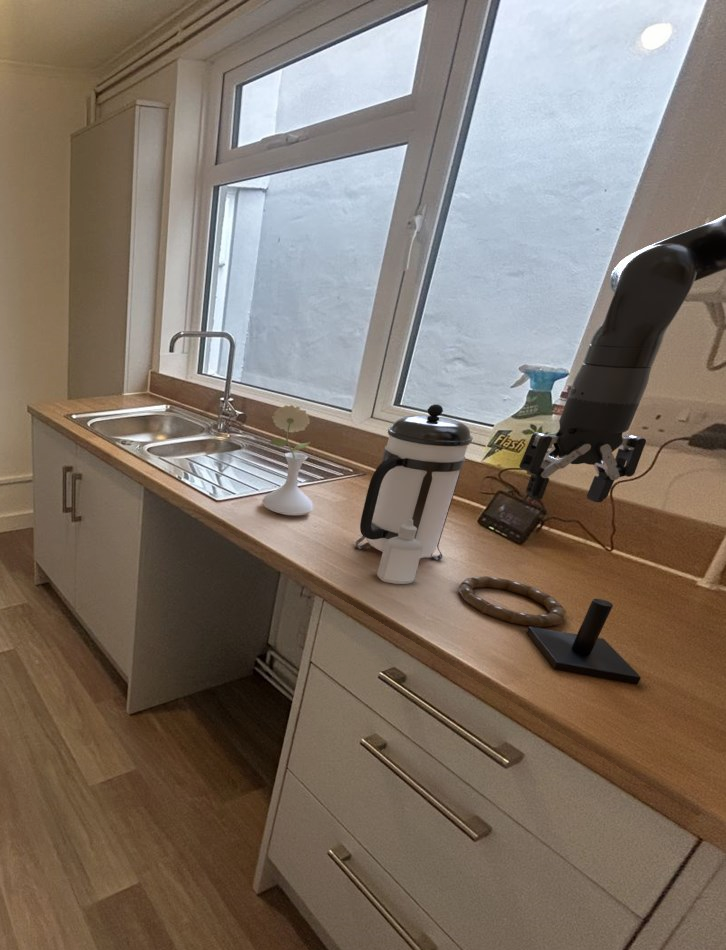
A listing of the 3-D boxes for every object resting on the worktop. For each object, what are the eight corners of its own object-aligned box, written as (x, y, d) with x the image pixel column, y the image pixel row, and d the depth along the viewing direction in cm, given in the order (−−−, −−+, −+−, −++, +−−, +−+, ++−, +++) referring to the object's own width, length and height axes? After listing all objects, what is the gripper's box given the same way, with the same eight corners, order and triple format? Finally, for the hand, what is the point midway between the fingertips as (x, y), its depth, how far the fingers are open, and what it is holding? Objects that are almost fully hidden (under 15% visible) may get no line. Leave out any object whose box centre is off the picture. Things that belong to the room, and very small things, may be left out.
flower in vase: (321, 512, 125) (342, 407, 116) (296, 524, 119) (316, 415, 110) (271, 496, 135) (287, 399, 125) (245, 507, 129) (260, 405, 119)
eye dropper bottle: (411, 589, 93) (429, 527, 88) (375, 580, 96) (390, 520, 91) (413, 579, 96) (430, 519, 92) (378, 570, 99) (393, 512, 95)
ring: (539, 591, 92) (543, 582, 91) (580, 636, 80) (584, 626, 79) (447, 578, 96) (450, 569, 96) (473, 618, 84) (476, 609, 84)
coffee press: (347, 531, 115) (378, 394, 104) (434, 544, 109) (478, 400, 97) (350, 565, 101) (386, 411, 89) (450, 584, 94) (504, 419, 83)
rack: (600, 645, 78) (625, 591, 74) (637, 684, 70) (668, 627, 67) (526, 632, 81) (546, 580, 77) (553, 669, 73) (578, 613, 70)
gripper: (569, 400, 74) (530, 506, 80) (684, 402, 72) (635, 510, 79) (531, 391, 81) (498, 489, 87) (636, 392, 79) (594, 492, 85)
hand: (563, 499), depth 83 cm, fingers open, 8 cm apart
